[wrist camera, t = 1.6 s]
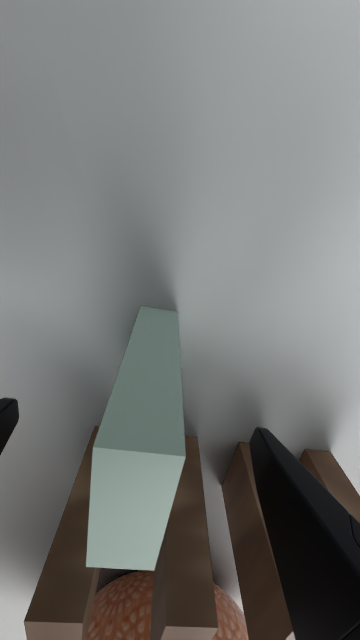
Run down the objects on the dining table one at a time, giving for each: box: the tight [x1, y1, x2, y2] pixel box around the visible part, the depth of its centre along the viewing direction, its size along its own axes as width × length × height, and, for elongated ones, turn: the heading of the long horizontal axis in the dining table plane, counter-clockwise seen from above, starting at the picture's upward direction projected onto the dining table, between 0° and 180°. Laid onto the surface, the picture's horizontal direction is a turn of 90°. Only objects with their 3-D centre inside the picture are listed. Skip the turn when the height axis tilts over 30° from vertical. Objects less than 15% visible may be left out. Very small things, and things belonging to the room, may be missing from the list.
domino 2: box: [86, 306, 186, 571], centre depth 10 cm, size 2×5×8 cm, turn 169°
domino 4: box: [222, 442, 295, 640], centre depth 14 cm, size 2×5×8 cm, turn 170°
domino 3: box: [150, 436, 218, 640], centre depth 14 cm, size 2×5×8 cm, turn 170°
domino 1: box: [24, 426, 101, 640], centre depth 13 cm, size 2×5×8 cm, turn 170°
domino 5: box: [299, 449, 360, 523], centre depth 15 cm, size 2×5×8 cm, turn 169°
